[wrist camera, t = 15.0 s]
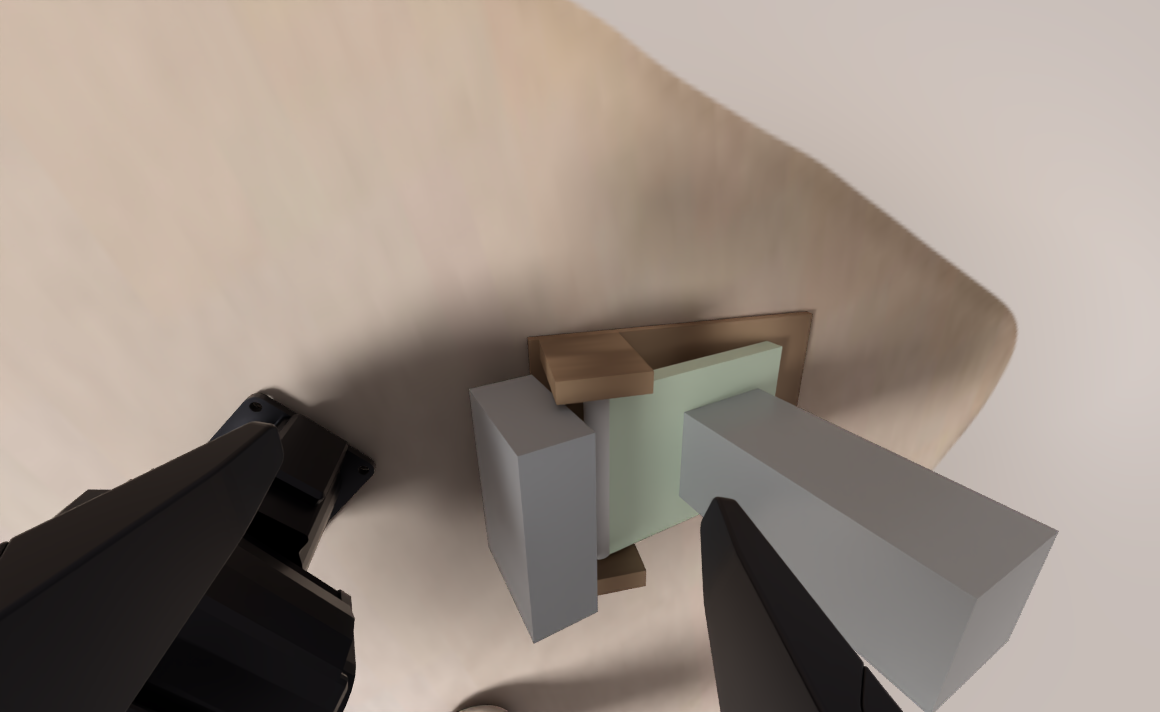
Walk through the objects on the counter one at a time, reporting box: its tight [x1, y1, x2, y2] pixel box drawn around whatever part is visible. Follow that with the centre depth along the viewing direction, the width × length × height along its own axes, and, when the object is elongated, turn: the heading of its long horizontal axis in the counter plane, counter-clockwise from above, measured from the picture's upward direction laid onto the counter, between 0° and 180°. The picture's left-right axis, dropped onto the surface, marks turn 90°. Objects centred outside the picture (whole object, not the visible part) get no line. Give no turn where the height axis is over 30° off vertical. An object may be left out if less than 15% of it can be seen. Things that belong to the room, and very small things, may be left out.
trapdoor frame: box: [527, 312, 812, 596], centre depth 24 cm, size 16×12×6 cm
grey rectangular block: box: [679, 388, 1059, 712], centre depth 19 cm, size 5×5×12 cm
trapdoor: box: [469, 341, 782, 643], centre depth 23 cm, size 16×9×6 cm, turn 93°
